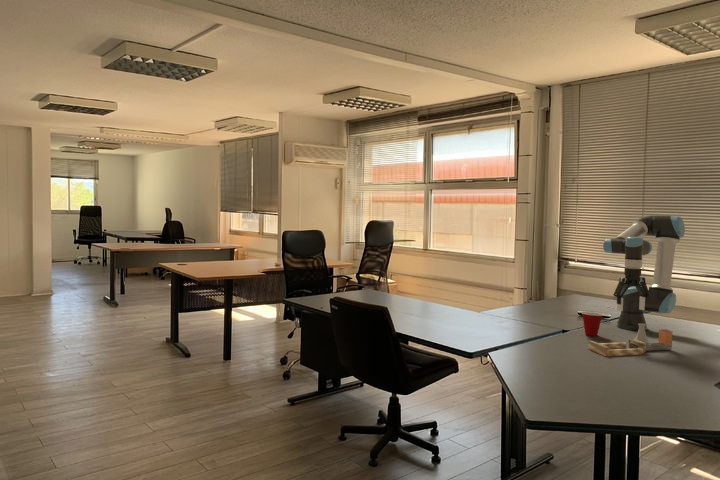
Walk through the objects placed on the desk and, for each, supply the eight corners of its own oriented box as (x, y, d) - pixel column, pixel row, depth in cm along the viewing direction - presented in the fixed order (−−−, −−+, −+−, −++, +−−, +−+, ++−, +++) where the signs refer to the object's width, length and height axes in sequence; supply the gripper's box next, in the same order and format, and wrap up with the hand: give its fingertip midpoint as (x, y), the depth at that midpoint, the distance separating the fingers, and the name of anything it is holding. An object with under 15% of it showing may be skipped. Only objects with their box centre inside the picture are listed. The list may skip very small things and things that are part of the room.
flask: (651, 346, 266) (652, 326, 265) (635, 345, 268) (636, 325, 267) (646, 342, 273) (647, 323, 273) (631, 341, 275) (632, 322, 274)
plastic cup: (604, 334, 289) (605, 312, 289) (600, 338, 280) (601, 315, 280) (582, 331, 295) (583, 309, 295) (578, 335, 287) (579, 312, 286)
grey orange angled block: (665, 347, 263) (666, 329, 262) (671, 349, 259) (672, 331, 258) (629, 349, 259) (630, 330, 258) (635, 351, 255) (636, 332, 254)
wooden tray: (630, 347, 264) (630, 337, 263) (649, 354, 251) (649, 344, 251) (588, 349, 259) (588, 339, 258) (605, 356, 246) (605, 346, 246)
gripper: (646, 266, 278) (644, 307, 279) (606, 267, 270) (605, 309, 271) (658, 268, 270) (656, 310, 272) (618, 269, 263) (616, 312, 264)
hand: (630, 310), depth 271 cm, fingers open, 13 cm apart
